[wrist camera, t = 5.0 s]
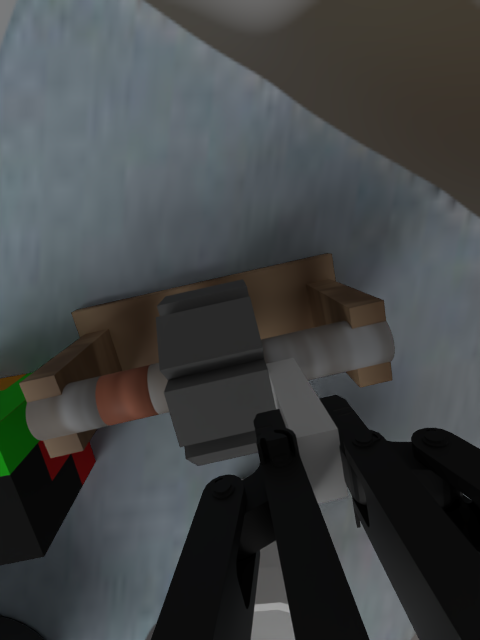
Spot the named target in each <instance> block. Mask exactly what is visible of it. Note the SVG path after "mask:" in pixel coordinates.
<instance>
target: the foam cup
mask: <svg viewBox="0 0 480 640" xmlns="http://www.w3.org/2000/svg"><path fill="white" fill-rule="evenodd" d="M241 480H243V479H241ZM251 640H295V636H294V631H293V626H292V621H291V616H290V610H289V605H288V600H287V595H286V590H285V585H284V580H283V574H282V569H281V564H280V559H279V554H278V549H277V544H276V541H274V542H272V543H271V544H269V545H267V546H266V547H264V548H262V549H261V550H260V563H259V571H258V580H257V589H256V597H255V606H254V615H253V624H252V632H251Z"/></svg>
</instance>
